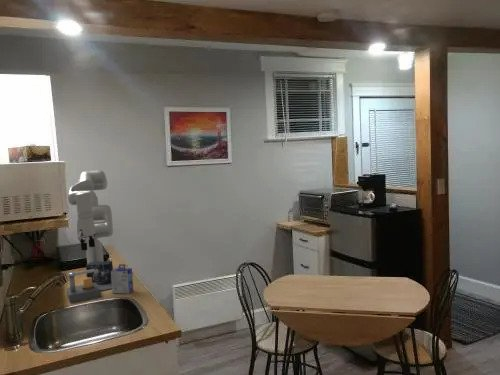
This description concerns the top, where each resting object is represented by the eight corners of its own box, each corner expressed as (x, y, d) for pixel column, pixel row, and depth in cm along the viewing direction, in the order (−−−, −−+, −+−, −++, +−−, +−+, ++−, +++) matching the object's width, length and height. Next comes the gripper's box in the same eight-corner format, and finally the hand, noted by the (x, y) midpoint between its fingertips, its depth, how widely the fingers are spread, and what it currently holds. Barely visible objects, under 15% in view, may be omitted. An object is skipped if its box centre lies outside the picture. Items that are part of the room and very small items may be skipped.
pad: (96, 287, 246) (96, 286, 246) (113, 284, 250) (113, 283, 250) (99, 291, 238) (99, 290, 238) (116, 288, 242) (116, 287, 242)
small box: (87, 285, 250) (85, 265, 249) (91, 282, 257) (89, 261, 256) (110, 284, 250) (108, 263, 249) (114, 280, 257) (112, 260, 256)
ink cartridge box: (134, 290, 237) (132, 263, 236) (129, 293, 232) (127, 266, 231) (117, 290, 239) (115, 263, 238) (112, 293, 234) (109, 266, 233)
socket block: (67, 295, 235) (65, 274, 234) (96, 289, 242) (94, 269, 241) (70, 303, 223) (67, 280, 222) (101, 296, 229) (99, 275, 228)
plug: (83, 294, 234) (81, 278, 234) (93, 292, 237) (91, 276, 236) (84, 297, 230) (82, 280, 229) (94, 295, 232) (93, 278, 231)
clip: (67, 277, 226) (67, 272, 226) (67, 275, 230) (66, 271, 229) (98, 272, 233) (98, 267, 233) (97, 270, 237) (96, 266, 236)
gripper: (88, 212, 245) (91, 244, 247) (69, 218, 228) (72, 252, 230) (100, 212, 243) (103, 244, 245) (82, 218, 227) (85, 252, 228)
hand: (88, 248), depth 238 cm, fingers open, 6 cm apart
